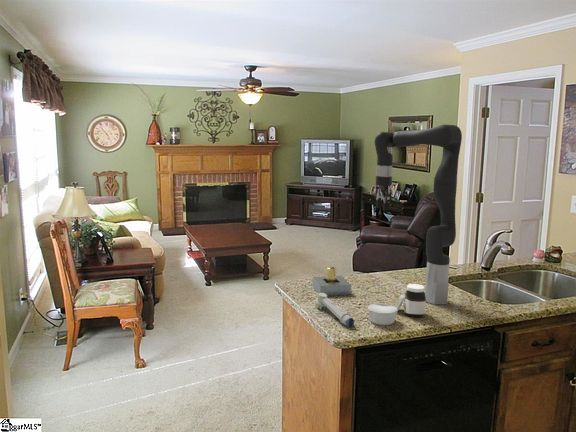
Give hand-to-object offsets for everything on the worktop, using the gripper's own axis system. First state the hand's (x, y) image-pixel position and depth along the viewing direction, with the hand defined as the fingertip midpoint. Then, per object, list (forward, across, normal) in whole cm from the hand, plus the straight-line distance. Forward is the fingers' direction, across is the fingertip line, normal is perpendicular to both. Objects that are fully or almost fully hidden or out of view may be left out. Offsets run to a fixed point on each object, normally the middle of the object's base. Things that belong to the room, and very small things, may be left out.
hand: (382, 209), depth 227 cm
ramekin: (+36, +46, -17) cm, 61 cm away
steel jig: (+36, +7, -26) cm, 45 cm away
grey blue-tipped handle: (+37, +38, -34) cm, 63 cm away
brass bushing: (+35, +7, -26) cm, 44 cm away
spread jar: (+36, +40, -3) cm, 54 cm away
